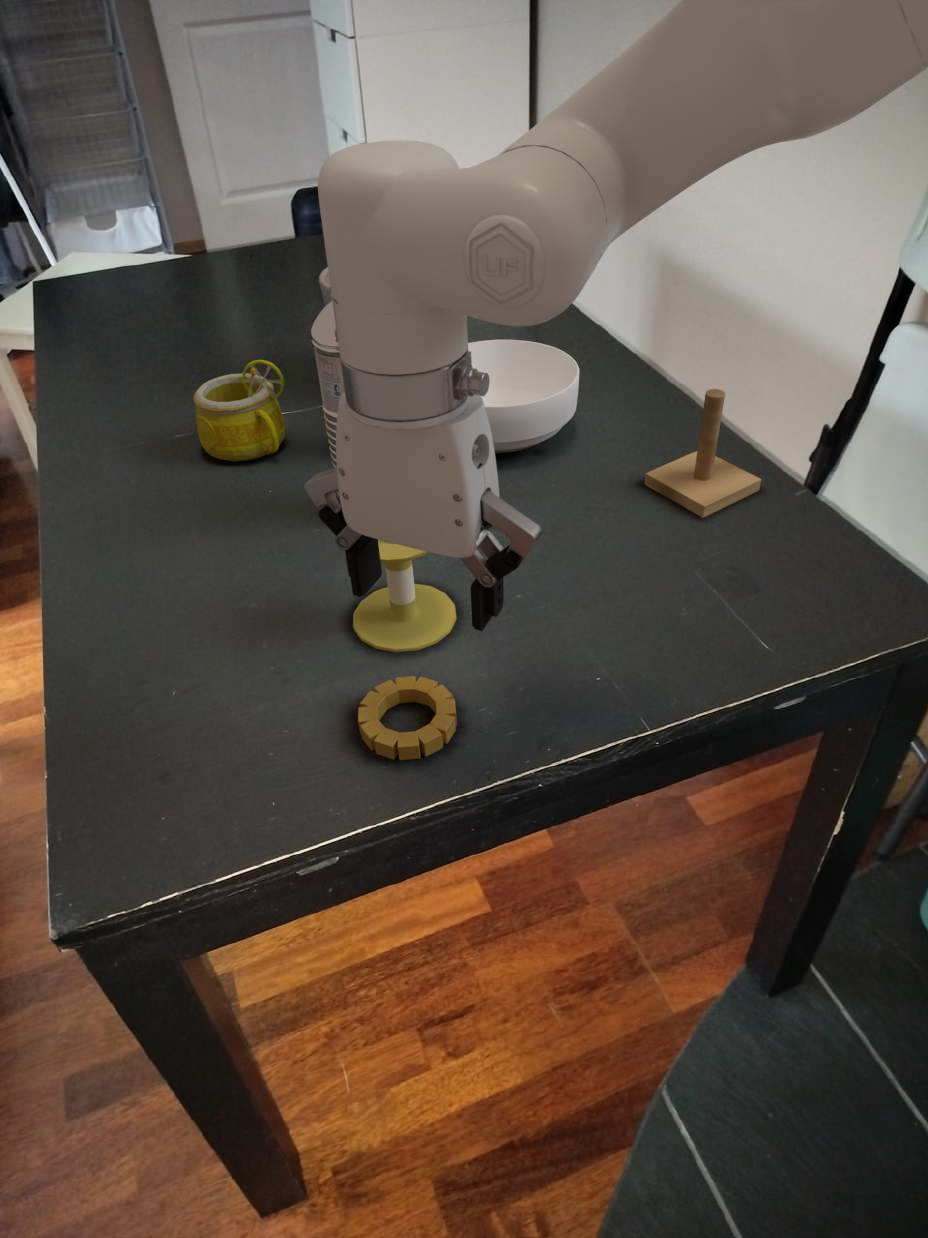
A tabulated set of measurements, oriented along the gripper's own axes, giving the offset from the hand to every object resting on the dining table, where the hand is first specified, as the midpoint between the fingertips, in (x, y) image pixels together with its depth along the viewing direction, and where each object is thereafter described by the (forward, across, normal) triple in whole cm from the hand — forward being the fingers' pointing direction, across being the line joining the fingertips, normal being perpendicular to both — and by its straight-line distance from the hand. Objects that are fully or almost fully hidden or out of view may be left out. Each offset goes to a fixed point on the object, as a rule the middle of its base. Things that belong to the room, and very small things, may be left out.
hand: (425, 601), depth 62 cm
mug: (+14, +44, -34) cm, 57 cm away
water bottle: (+14, +22, -27) cm, 38 cm away
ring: (+13, +2, 0) cm, 14 cm away
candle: (+14, +9, -12) cm, 20 cm away
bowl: (+14, +16, -49) cm, 53 cm away
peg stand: (+13, -11, -45) cm, 48 cm away
